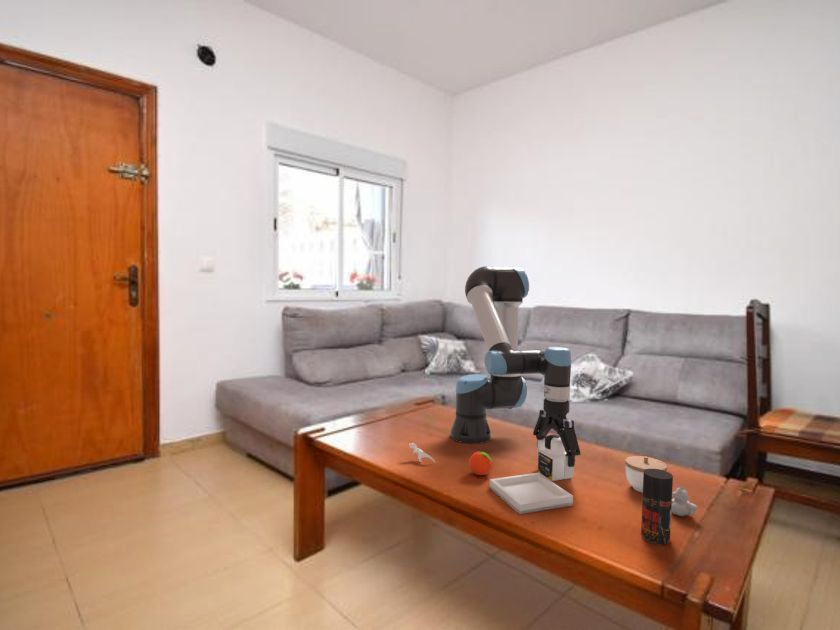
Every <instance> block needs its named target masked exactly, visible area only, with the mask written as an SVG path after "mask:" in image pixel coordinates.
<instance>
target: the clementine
mask: <svg viewBox="0 0 840 630" xmlns="http://www.w3.org/2000/svg"><path fill="white" fill-rule="evenodd" d="M492 465H493V460H492V458H491V456H490V455H489V454H488V453H487V452H485V451H480V450H479V451H475V452H474V453H472V455H471V456H470V458H469V460H468V466H469V468H470V470H471V472H473V474H475V475H477V476H478V475H479V476H485V475H487V474H489V472H490V471H491V469H492V467H493V466H492Z"/></svg>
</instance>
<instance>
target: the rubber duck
mask: <svg viewBox="0 0 840 630" xmlns="http://www.w3.org/2000/svg"><path fill="white" fill-rule="evenodd" d="M697 509H698V506H697V505H696V504H694V503H692V502H690V501H689V492H688V491H687V490H686V488H685V487H684V486H682V485H681V484H679V486H678V487H677V488H676V489H675V490H674V491H672V508H671V514H674V515H676V516H678V517H685V516H688V515H690V516H696V514H697V513H696V512H697Z"/></svg>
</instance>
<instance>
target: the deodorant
mask: <svg viewBox="0 0 840 630" xmlns="http://www.w3.org/2000/svg"><path fill="white" fill-rule="evenodd" d="M673 481H674V475H673V474H672V473H670V472H669V471H668V470H667V471H664V470H660V469H645V470H644V474H643V493H642V497H641V498H642V500H641V502H642V503H641V522H640V524H641V525H640V535H641V538H642V539H643V540H644V541H646V542H648V543H651V544H654V545H659V546H663V545H664V546H665V545H669V543H670V542H671V529H672V528H671V526H672V512H671V508H672V499H673V494H672V493H673V486H674V485H673V484H674V483H673Z"/></svg>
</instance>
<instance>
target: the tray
mask: <svg viewBox="0 0 840 630" xmlns="http://www.w3.org/2000/svg"><path fill="white" fill-rule="evenodd" d="M489 489H490V490H492V492H494V494H496V495H497V496H498V497H499V496H500V497H499V498H500V499H501V500H503V501H504V502H505V503H506V504H507V505H508V506H510V507H511V509H513V510H514V511H515V512H516V513H517V514H519V515H524V514H530V513H535V512H541V511H546V510H553V509H558V508H566V507H570V506H571V507H572V506H574V495H572V494H571V493H569V491H567V490H565V489H564V488H562V487H561V486H559V485H558V484H556V482H554V481H551V480H549V479H548V478H546V477H544V476H543V475H541V474H540V473H538V472H533V473H525V474H519V475H513V476H512V475H511V476H505V477H504V476H503V477H496V478H489Z"/></svg>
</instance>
